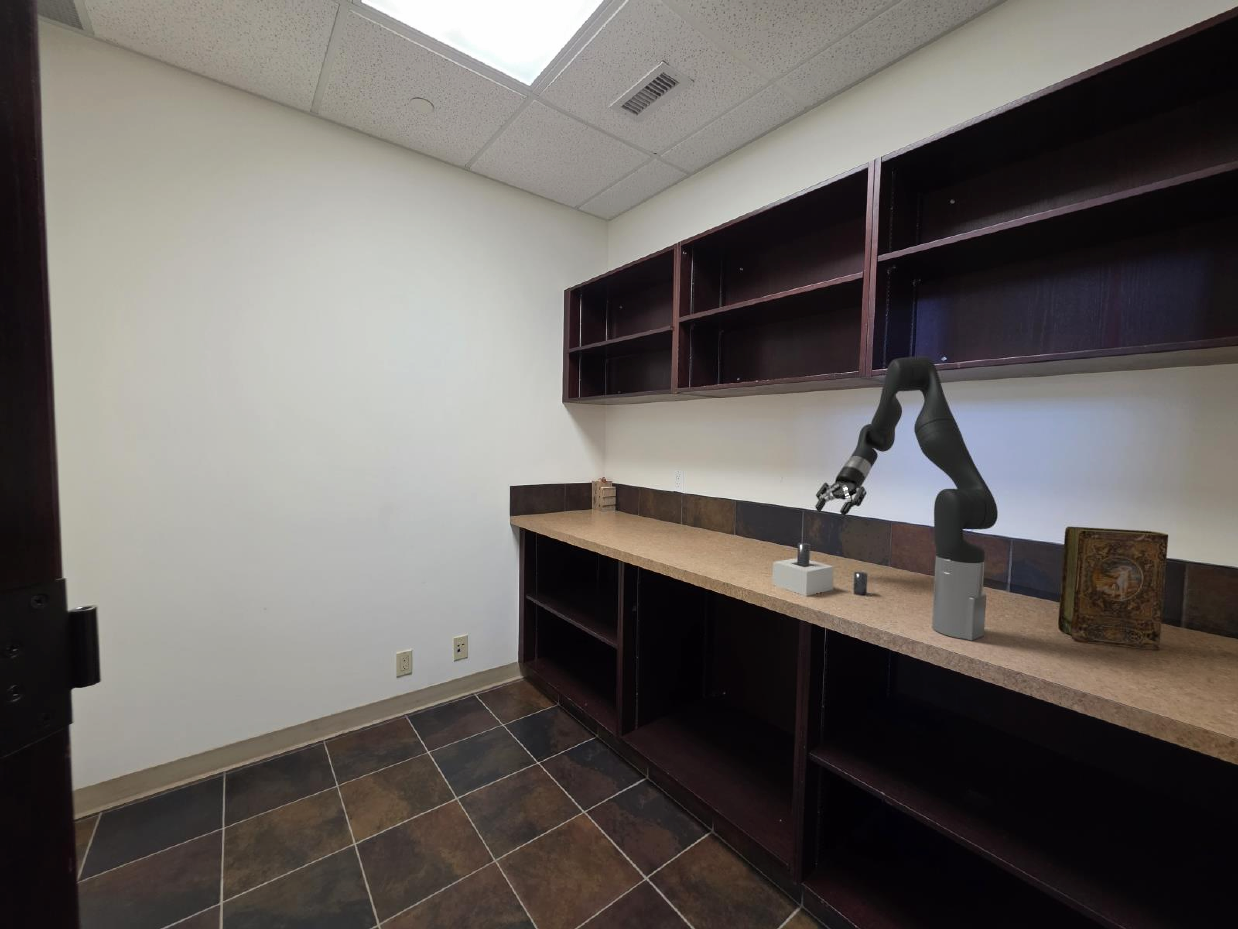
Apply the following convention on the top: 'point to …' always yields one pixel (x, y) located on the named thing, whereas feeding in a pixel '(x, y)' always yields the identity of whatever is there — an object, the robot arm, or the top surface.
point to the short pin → (860, 583)
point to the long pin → (803, 554)
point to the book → (1113, 586)
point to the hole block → (803, 577)
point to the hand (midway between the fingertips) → (829, 511)
